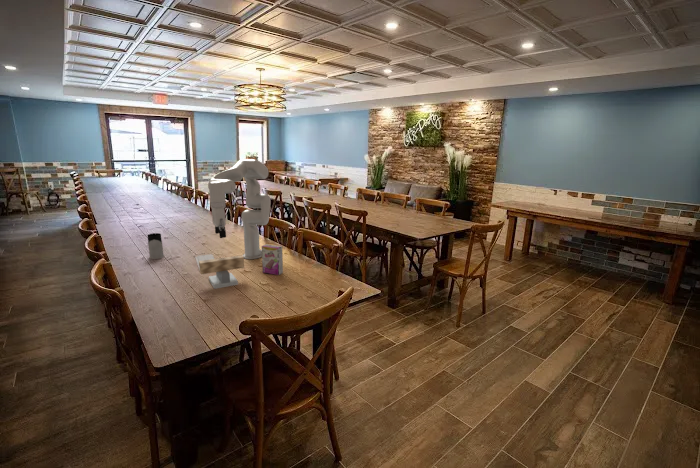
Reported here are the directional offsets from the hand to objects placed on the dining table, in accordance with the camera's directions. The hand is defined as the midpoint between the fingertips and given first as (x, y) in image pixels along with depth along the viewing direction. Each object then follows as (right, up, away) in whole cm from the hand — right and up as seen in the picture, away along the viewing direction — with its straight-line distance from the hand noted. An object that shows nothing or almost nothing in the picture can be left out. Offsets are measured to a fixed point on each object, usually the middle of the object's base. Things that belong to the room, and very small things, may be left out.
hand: (220, 235), depth 188 cm
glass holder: (-56, -14, +38) cm, 69 cm away
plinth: (+3, -25, -3) cm, 26 cm away
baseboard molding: (-19, -18, +26) cm, 37 cm away
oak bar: (+3, -18, -5) cm, 19 cm away
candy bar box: (+26, -22, +13) cm, 36 cm away
